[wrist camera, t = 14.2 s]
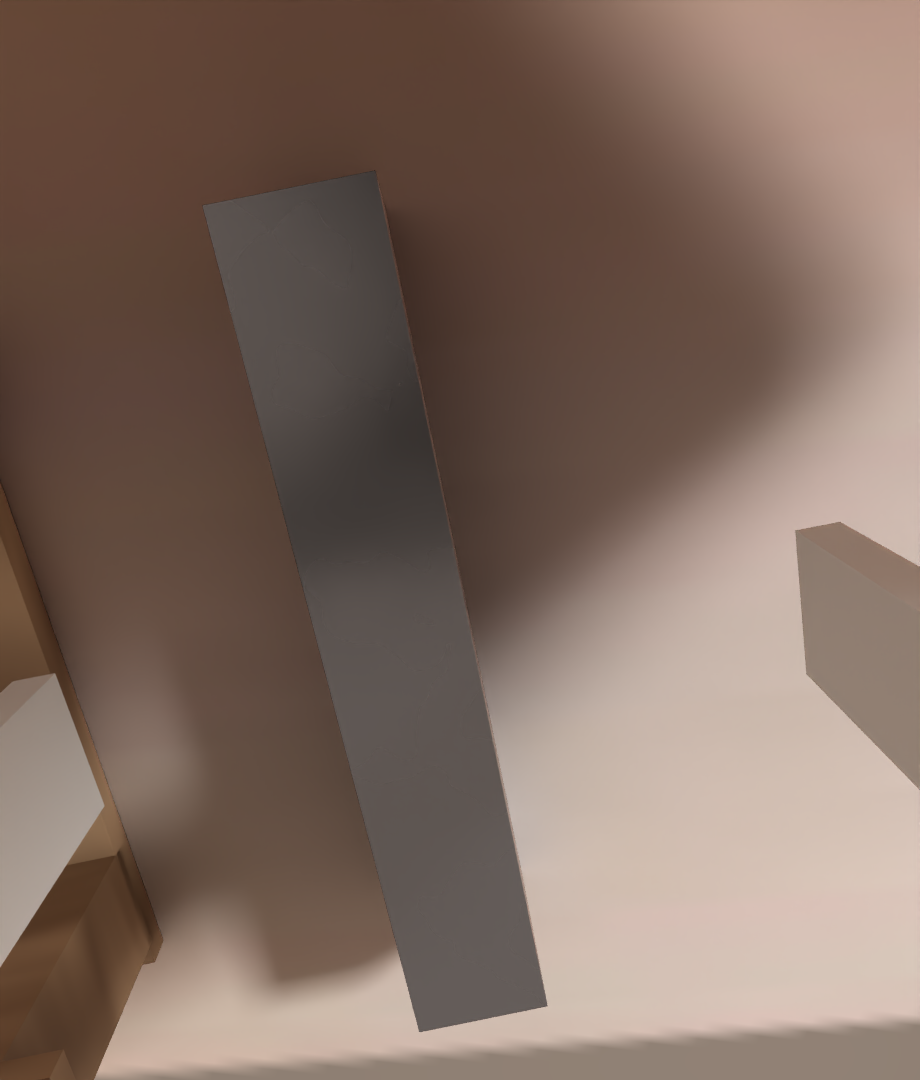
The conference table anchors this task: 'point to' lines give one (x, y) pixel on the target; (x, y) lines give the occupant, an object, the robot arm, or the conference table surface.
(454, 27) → the conference table surface
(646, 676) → the conference table surface
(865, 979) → the conference table surface
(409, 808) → the rail
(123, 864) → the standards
